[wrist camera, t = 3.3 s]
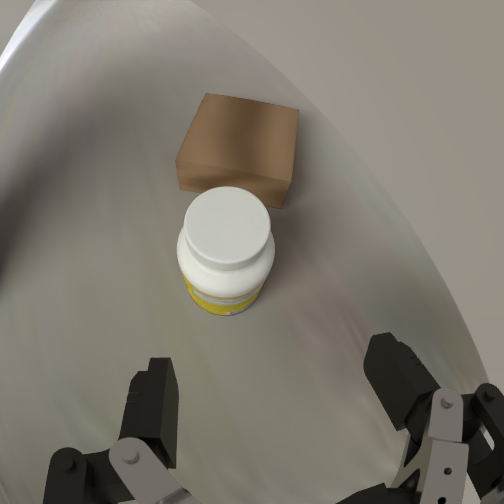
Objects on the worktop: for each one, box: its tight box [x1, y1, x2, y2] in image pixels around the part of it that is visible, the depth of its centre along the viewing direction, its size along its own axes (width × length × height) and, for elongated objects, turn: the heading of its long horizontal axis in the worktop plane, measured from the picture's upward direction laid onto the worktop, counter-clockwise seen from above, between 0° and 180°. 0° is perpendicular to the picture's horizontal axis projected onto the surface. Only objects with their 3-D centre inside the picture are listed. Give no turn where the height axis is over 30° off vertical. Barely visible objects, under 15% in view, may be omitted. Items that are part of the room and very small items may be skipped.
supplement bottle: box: [177, 186, 275, 317], centre depth 18 cm, size 5×5×10 cm
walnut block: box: [175, 93, 299, 209], centre depth 25 cm, size 9×9×4 cm
